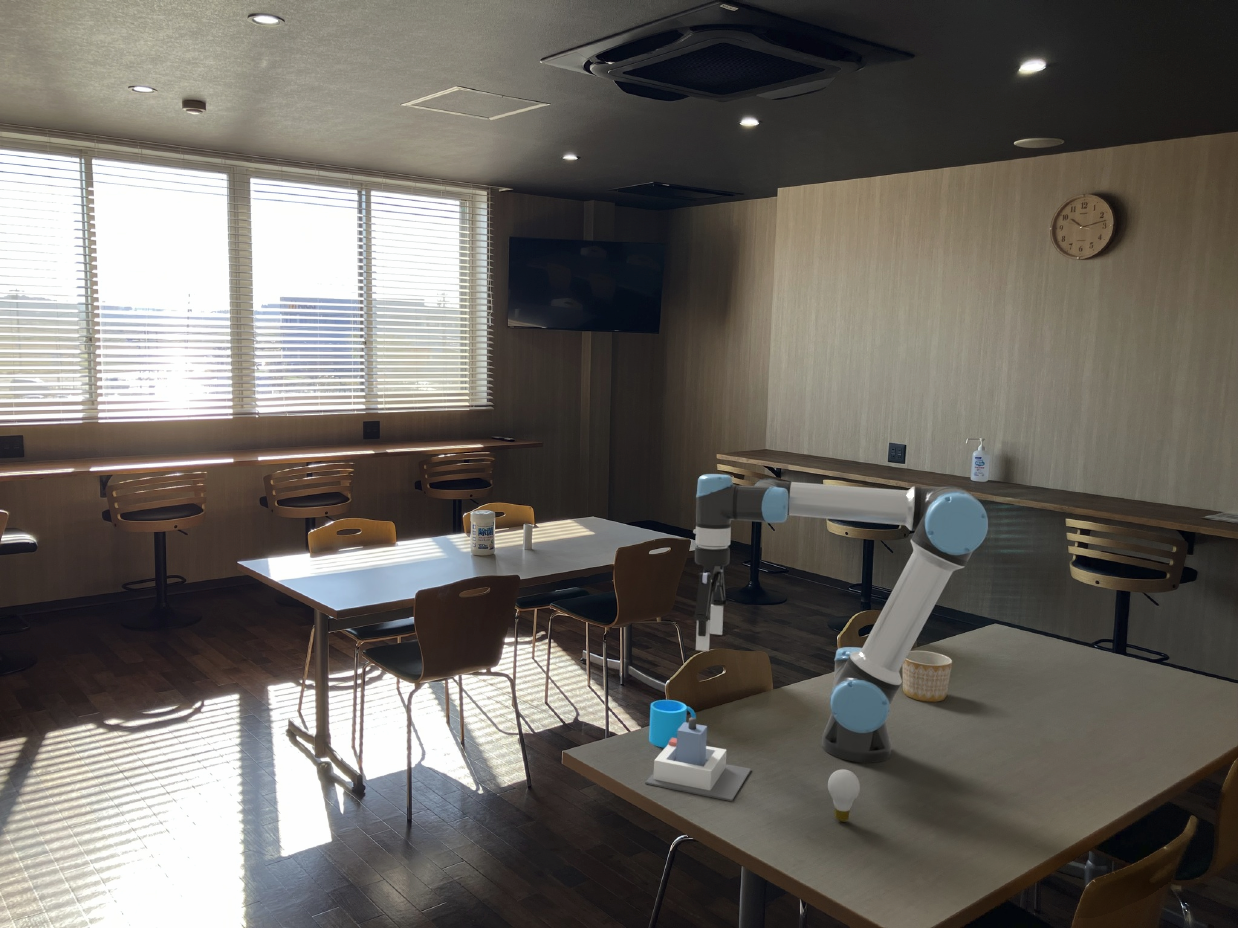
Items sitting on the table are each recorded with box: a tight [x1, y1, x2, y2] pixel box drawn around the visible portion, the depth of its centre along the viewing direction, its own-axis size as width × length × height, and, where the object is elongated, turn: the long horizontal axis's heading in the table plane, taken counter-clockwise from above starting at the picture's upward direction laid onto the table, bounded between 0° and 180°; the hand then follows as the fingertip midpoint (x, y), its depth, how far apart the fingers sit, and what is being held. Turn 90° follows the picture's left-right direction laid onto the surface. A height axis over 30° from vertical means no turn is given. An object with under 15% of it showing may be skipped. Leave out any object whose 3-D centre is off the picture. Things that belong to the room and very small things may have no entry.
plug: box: [676, 716, 708, 766], centre depth 198 cm, size 5×5×10 cm
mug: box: [648, 699, 697, 749], centre depth 217 cm, size 12×8×8 cm
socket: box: [644, 738, 752, 802], centre depth 197 cm, size 18×16×5 cm
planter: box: [901, 650, 953, 703], centre depth 253 cm, size 13×13×10 cm
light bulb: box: [827, 769, 861, 823], centre depth 180 cm, size 6×6×10 cm
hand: (709, 641), depth 208 cm, fingers open, 13 cm apart
